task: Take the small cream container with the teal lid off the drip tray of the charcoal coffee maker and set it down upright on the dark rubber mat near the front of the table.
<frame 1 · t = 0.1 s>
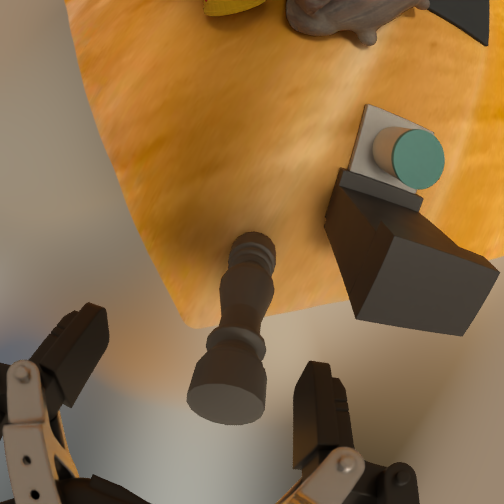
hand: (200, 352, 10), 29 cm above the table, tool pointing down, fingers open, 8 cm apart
coffee maker: (383, 173, 34), on the table
candle holder: (253, 251, 41), on the table
container: (394, 150, 32), point 1 cm above the table, touching coffee maker
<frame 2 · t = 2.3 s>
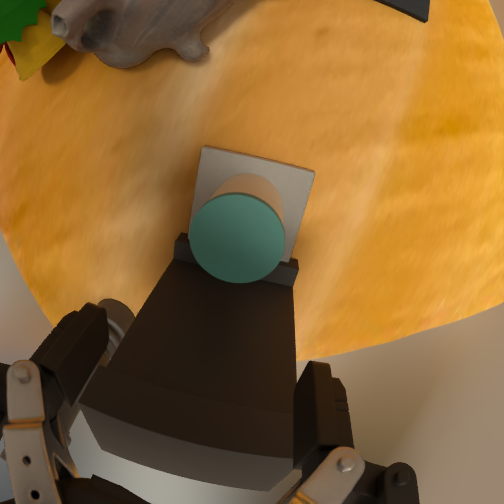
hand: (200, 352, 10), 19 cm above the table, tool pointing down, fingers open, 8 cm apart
coffee maker: (241, 236, 29), on the table
ornament: (58, 7, 18), on the table
candle holder: (117, 316, 35), on the table
container: (247, 207, 26), point 1 cm above the table, touching coffee maker
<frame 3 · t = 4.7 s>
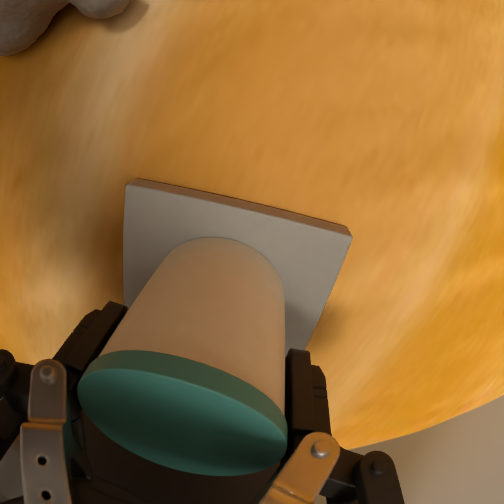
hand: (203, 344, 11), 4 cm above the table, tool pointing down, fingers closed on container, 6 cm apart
coffee maker: (213, 332, 16), on the table
candle holder: (68, 393, 23), on the table
container: (218, 297, 14), point 1 cm above the table, touching coffee maker, gripper
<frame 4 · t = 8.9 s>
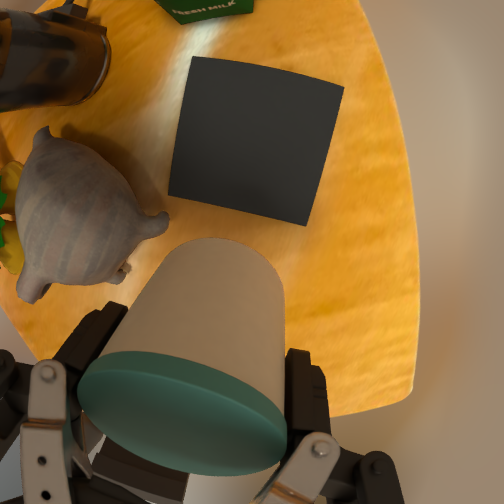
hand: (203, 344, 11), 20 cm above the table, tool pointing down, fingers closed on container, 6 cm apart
coffee maker: (172, 368, 40), on the table
ornament: (15, 187, 30), on the table
mat: (251, 138, 26), on the table
piggy bank: (91, 202, 30), on the table
candle holder: (106, 392, 47), on the table
container: (218, 297, 14), point 16 cm above the table, touching gripper
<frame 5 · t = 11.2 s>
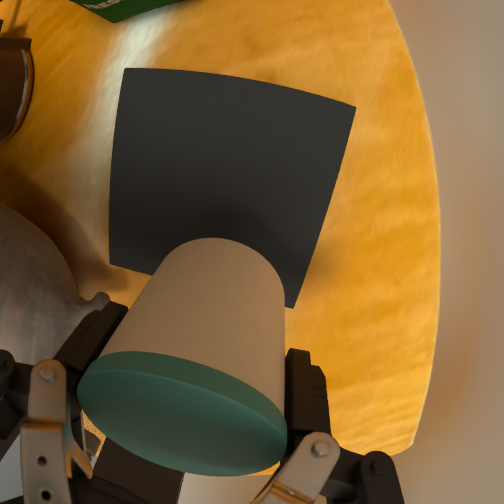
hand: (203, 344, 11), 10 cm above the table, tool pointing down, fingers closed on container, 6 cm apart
coffee maker: (148, 426, 33), on the table
mat: (213, 188, 18), on the table
piggy bank: (33, 260, 22), on the table
candle holder: (86, 434, 40), on the table
container: (218, 298, 14), point 6 cm above the table, touching gripper
when the fingers open (4 cm above the table, at t = 13.2 s): container stays where it is, resting on mat.
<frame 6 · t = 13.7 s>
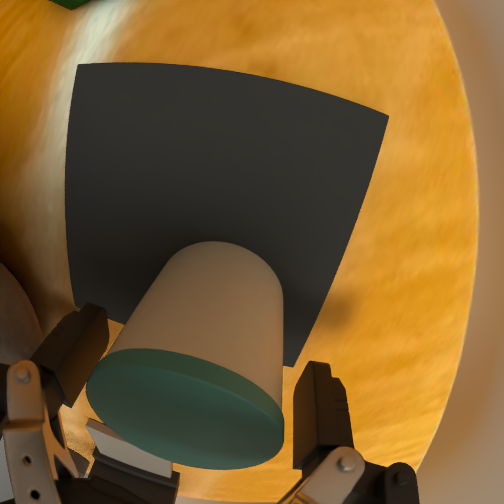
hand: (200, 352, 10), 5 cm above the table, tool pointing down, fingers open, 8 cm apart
coffee maker: (135, 457, 28), on the table
mat: (192, 223, 13), on the table
piggy bank: (2, 289, 18), on the table
candle holder: (75, 454, 35), on the table
container: (219, 298, 14), point 1 cm above the table, touching mat
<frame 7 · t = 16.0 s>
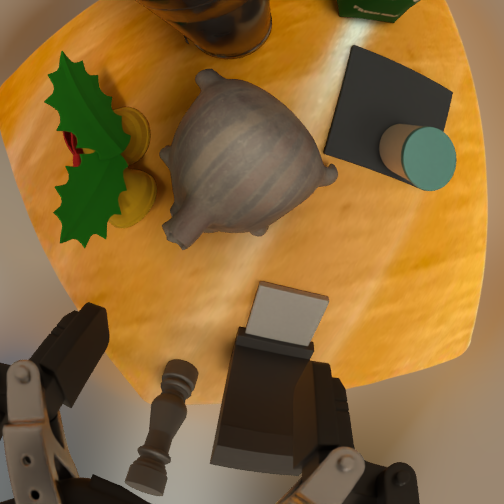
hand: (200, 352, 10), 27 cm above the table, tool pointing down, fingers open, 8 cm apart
coffee maker: (279, 330, 44), on the table
ornament: (121, 135, 33), on the table
mat: (392, 118, 29), on the table
piggy bank: (233, 155, 33), on the table
candle holder: (182, 369, 50), on the table
container: (402, 149, 30), point 1 cm above the table, touching mat
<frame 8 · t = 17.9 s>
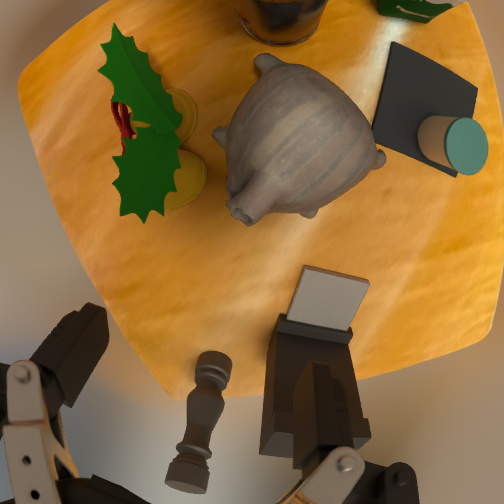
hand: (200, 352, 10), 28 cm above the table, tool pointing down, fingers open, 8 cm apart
coffee maker: (319, 315, 44), on the table
ornament: (165, 117, 33), on the table
mat: (427, 110, 29), on the table
piggy bank: (283, 139, 33), on the table
candle holder: (215, 361, 50), on the table
container: (437, 138, 30), point 1 cm above the table, touching mat
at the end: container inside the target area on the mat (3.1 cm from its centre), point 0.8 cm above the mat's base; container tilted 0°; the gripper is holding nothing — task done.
